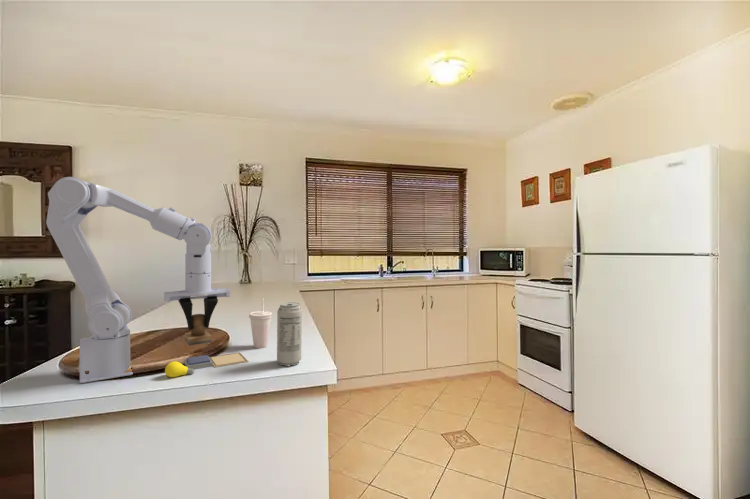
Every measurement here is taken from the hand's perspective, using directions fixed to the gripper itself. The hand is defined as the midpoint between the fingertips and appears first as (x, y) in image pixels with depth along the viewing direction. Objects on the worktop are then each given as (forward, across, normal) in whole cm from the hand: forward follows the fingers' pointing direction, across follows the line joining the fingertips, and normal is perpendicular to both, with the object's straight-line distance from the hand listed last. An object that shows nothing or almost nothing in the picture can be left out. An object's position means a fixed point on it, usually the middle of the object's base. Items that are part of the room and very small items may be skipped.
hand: (198, 328), depth 91 cm
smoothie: (+9, -18, -7) cm, 21 cm away
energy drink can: (+9, -20, +10) cm, 24 cm away
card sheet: (+9, -7, 0) cm, 11 cm away
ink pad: (+9, 0, 0) cm, 9 cm away
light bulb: (+10, +5, +5) cm, 12 cm away
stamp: (+3, 0, 0) cm, 3 cm away
